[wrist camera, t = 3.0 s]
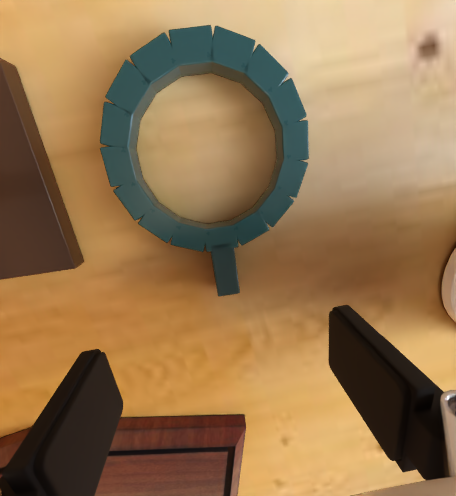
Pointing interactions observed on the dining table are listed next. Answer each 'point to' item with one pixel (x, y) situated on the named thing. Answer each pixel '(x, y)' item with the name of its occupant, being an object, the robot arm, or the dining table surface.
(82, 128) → the dining table surface
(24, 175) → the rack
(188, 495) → the control panel
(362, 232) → the dining table surface
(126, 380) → the dining table surface
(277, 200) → the ring
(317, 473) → the dining table surface
